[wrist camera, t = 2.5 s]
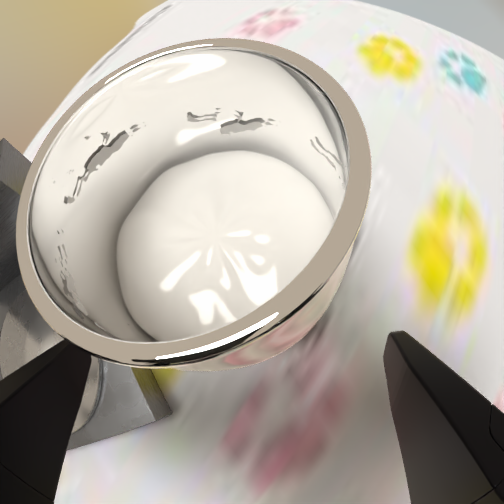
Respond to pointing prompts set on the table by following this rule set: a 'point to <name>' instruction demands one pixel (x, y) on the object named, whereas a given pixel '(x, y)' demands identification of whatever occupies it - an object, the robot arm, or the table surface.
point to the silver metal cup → (195, 207)
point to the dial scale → (44, 337)
